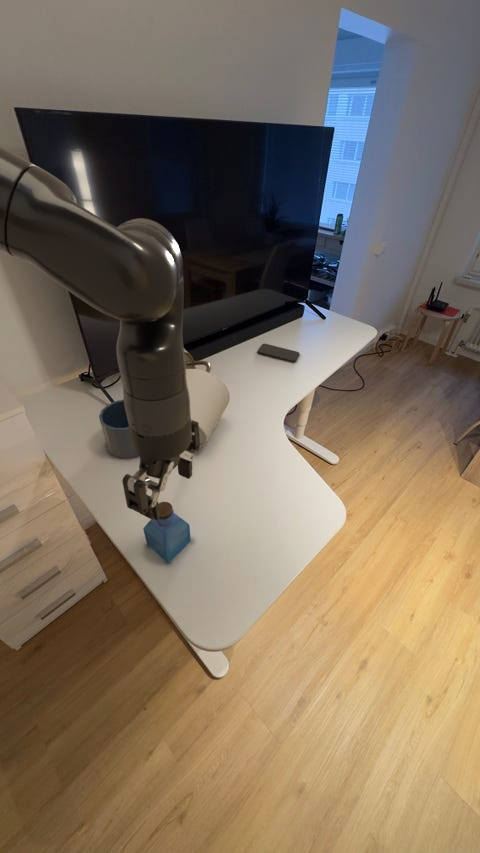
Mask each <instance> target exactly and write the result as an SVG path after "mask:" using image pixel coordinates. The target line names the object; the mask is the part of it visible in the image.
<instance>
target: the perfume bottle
mask: <svg viewBox="0 0 480 853" xmlns="http://www.w3.org/2000/svg"><path fill="white" fill-rule="evenodd" d="M158 504H159V510H160V517H159V518H158V520H155V519H153V520H152V519H149V521H148V522H147V523H146V525H144V526H143V528H142V529H143V534H144V539H145V542H146V546H147V547H149V548H150V549H151V550H152V551H153V552H154V553H156V554H157V555H158V556H159V557H160V558H161V559H162V560H163V561H165V562H166V563H167V564H170V563H171V562H172V561H173V560H174V559H175V558H176V557H177V556H178V555H179V554H180V553H181V552H182V551H183V550H184V549H185V548H186V547H187V545H189V543H191V542H192V540H191V529H190V528H191V526H190V523H188V522H187V521H185V520H184V519H183V518H182V517H180V516H179V515H177V514H176V513H175V511H174V508H173V505H172V504H171V503H170V502H169V501H161V502H158Z"/></svg>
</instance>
